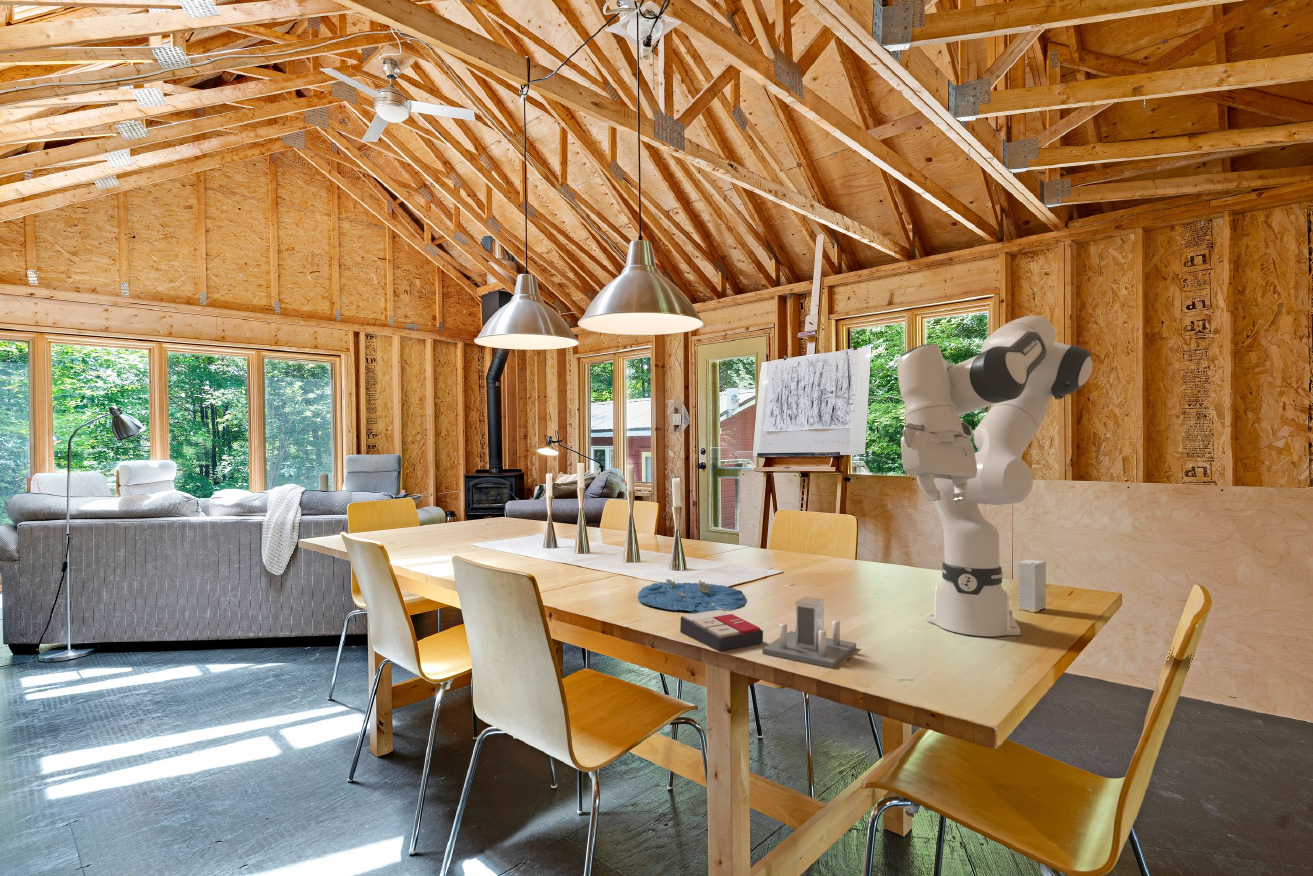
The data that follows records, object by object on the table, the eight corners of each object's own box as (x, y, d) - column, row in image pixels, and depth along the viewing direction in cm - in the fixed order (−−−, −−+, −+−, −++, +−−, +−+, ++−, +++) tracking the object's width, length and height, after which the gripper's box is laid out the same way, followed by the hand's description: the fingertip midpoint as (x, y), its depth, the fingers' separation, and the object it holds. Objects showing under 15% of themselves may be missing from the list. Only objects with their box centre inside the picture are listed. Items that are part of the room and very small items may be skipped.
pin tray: (790, 635, 132) (790, 610, 132) (856, 648, 124) (856, 620, 124) (762, 653, 120) (762, 625, 120) (832, 668, 112) (832, 638, 112)
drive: (804, 641, 125) (804, 596, 125) (823, 644, 122) (823, 599, 123) (795, 647, 121) (795, 601, 121) (815, 651, 119) (815, 604, 119)
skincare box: (1027, 606, 157) (1027, 558, 157) (1047, 609, 153) (1046, 561, 153) (1016, 609, 153) (1016, 561, 153) (1036, 613, 150) (1036, 564, 150)
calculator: (720, 635, 121) (679, 613, 134) (719, 657, 121) (679, 632, 134) (764, 627, 126) (721, 606, 140) (763, 648, 126) (720, 625, 140)
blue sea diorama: (771, 604, 165) (772, 584, 165) (700, 626, 143) (701, 603, 143) (688, 582, 185) (688, 565, 185) (614, 599, 163) (615, 579, 163)
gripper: (919, 416, 105) (934, 496, 102) (976, 429, 118) (991, 500, 114) (886, 426, 110) (900, 502, 106) (944, 437, 122) (958, 506, 119)
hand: (948, 501), depth 110 cm, fingers open, 8 cm apart
